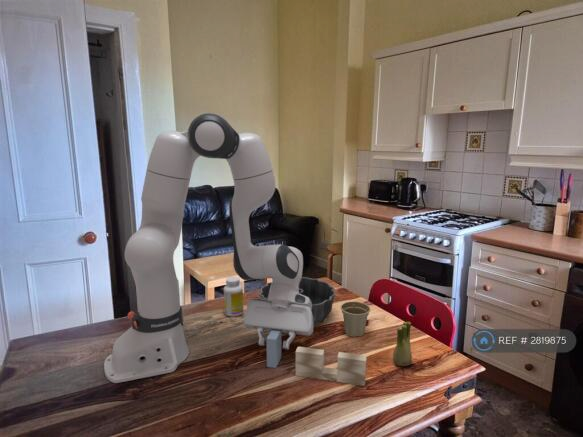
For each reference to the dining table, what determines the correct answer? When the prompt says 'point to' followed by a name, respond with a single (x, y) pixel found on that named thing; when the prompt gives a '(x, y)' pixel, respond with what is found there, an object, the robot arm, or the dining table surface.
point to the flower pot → (355, 317)
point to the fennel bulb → (403, 346)
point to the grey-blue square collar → (273, 348)
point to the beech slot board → (347, 371)
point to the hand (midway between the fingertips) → (273, 346)
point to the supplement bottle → (233, 297)
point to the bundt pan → (312, 296)
